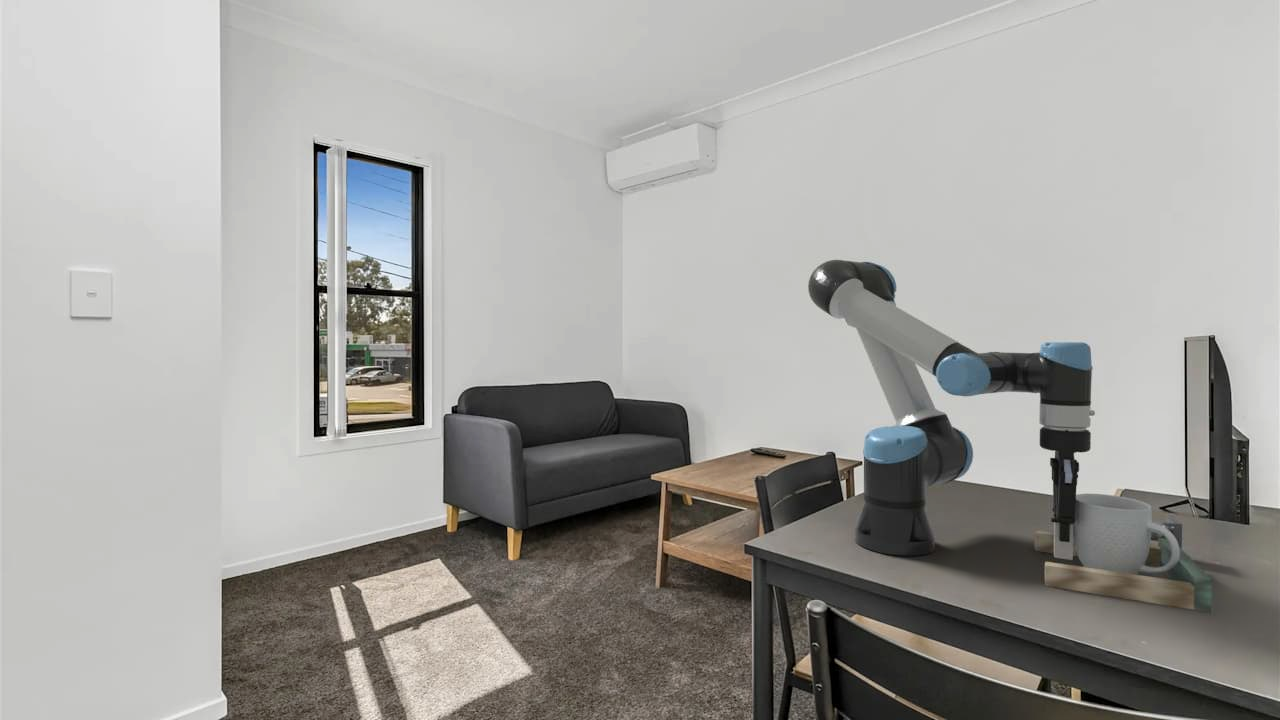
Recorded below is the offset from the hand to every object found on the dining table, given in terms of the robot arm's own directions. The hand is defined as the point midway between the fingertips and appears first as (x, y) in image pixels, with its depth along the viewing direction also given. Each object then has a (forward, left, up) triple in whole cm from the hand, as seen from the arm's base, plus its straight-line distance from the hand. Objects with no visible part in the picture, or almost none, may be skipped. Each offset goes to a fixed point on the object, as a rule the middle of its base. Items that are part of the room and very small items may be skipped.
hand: (1063, 557), depth 110 cm
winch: (+16, +15, -2) cm, 22 cm away
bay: (+7, 0, -2) cm, 7 cm away
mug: (+8, 0, -2) cm, 8 cm away
